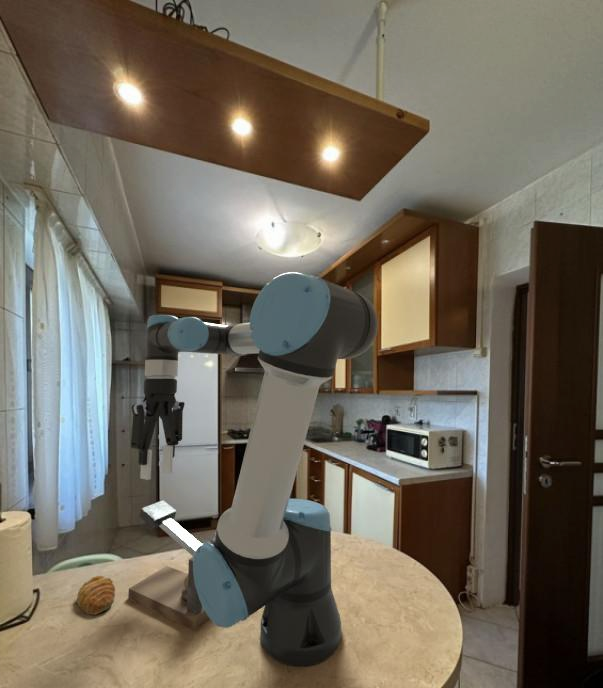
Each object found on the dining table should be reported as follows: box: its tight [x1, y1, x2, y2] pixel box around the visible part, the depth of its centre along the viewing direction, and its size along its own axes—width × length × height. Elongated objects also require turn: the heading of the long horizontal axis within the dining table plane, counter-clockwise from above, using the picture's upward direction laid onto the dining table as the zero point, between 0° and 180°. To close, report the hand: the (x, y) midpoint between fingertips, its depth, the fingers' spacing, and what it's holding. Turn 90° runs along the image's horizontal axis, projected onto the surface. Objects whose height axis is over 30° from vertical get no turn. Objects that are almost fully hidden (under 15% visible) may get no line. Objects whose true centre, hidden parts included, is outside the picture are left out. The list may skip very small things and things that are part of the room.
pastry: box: [76, 575, 116, 616], centre depth 70 cm, size 9×7×4 cm
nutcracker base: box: [127, 556, 210, 631], centre depth 72 cm, size 20×10×12 cm, turn 62°
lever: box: [139, 499, 203, 557], centre depth 73 cm, size 21×6×3 cm, turn 60°
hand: (156, 475), depth 78 cm, fingers open, 5 cm apart
